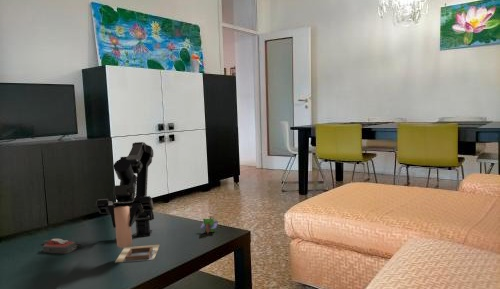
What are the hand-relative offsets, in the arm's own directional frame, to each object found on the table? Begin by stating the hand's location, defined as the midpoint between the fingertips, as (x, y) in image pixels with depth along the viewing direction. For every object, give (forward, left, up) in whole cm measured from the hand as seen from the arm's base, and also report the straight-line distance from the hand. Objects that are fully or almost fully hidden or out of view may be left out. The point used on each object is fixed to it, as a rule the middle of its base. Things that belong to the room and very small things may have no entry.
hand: (122, 226), depth 126 cm
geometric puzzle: (-26, +28, -13) cm, 41 cm away
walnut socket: (-3, +4, -12) cm, 13 cm away
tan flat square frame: (-6, +3, -13) cm, 15 cm away
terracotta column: (-1, 0, -7) cm, 7 cm away
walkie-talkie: (-21, -31, -14) cm, 40 cm away
